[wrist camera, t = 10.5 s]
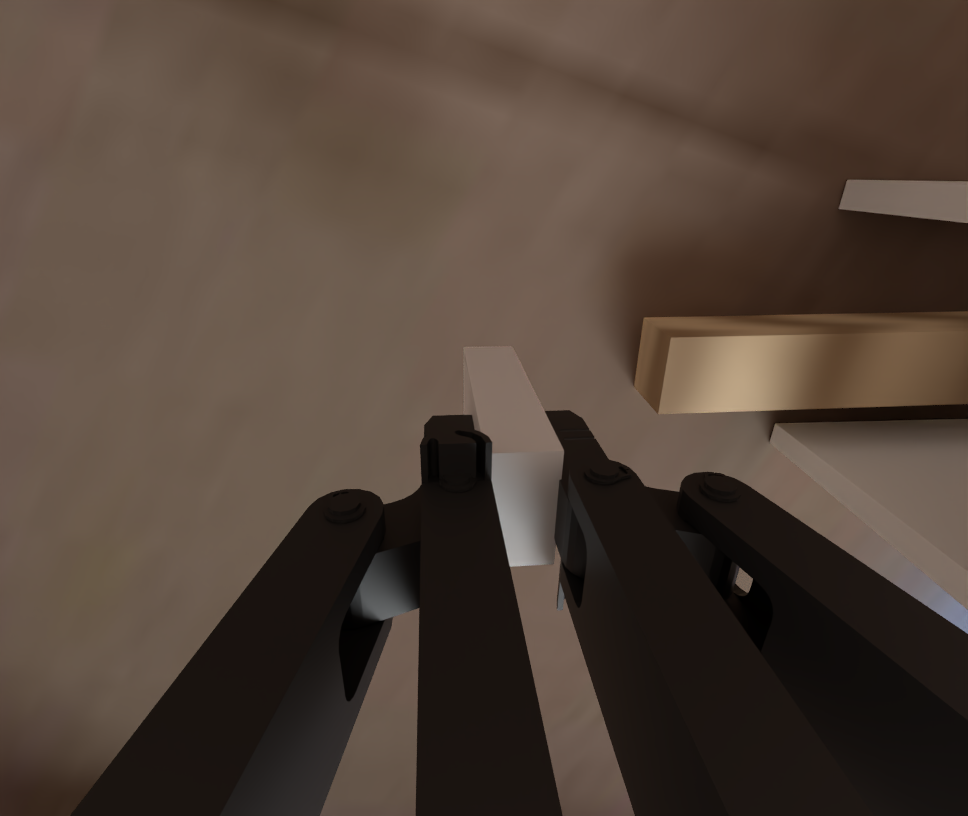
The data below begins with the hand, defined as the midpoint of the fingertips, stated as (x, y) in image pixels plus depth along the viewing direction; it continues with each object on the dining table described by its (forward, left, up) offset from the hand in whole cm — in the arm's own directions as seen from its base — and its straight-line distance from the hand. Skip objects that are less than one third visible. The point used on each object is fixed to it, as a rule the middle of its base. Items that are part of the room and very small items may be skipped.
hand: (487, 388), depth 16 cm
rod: (+19, 0, -5) cm, 20 cm away
